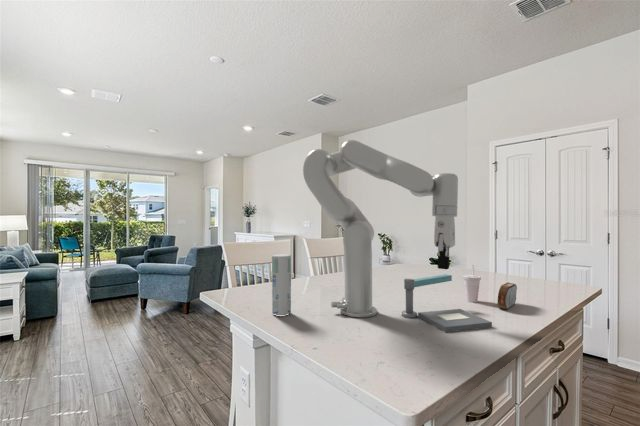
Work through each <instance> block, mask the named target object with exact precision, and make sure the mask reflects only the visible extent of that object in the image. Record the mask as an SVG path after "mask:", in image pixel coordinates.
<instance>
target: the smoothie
mask: <svg viewBox="0 0 640 426" xmlns="http://www.w3.org/2000/svg"><path fill="white" fill-rule="evenodd" d="M471 272H472V273H471V274H463V275H462V279H463V283H464V290H465V297H466V301H467V302H468V303H478V300H479V292H480V290H479V289H480V283H481V280H482V277H481V276H479V275H475V265H474V264H472V271H471Z"/></svg>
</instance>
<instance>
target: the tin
mask: <svg viewBox="0 0 640 426" xmlns="http://www.w3.org/2000/svg"><path fill="white" fill-rule="evenodd" d="M517 290H518V287H517V284H516V283H512V282H506V283H504V284H501V286H500V287H499V290H498V294H497V307H498V309H502V310H509V309H511V308H512V307H513V306H515V304H516V301H517Z"/></svg>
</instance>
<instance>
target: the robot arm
mask: <svg viewBox="0 0 640 426" xmlns="http://www.w3.org/2000/svg"><path fill="white" fill-rule="evenodd" d="M339 149H340V150H339V151H336V152H332V153H330V152H328V151H327V150H325V149H321V148H316V149H313V150H311V151H309V153H308V154H307V155H306V157H305V159H304V162H303V167H302V171H303V174H302V175H303V179H304V181H305V184H306V186H307V188H308V189H309V191H310V192H311V194H312V195H313V196H314V198H315V199H316V201H317V202H318V203H319V205H320V206H321V207H322V209H323V210H324V211H325V213H326V214H327V216H328V218H329V219H330V220H331V221H332V222H334V223H337V224H339V225H340V227H341V228H342V229H343V235H342V243H343V254H344V255H343V256H344V258H343V259H344V267H343V268H344V297H341V300H339V301H331V302H330V305H331V308H337V310H338V309H339V310H340V311H339V312H340V313H341V314H342V315H344V316H346V315H347V317H351V318H369V317H374V316H375V315H376V314H377V313H378V308H376V306H373V252H372V251H373V249H372V241H373V239H374V237H375V230H374V227H373V225H372V224H371V222H370V221H369V220H368V218H367V217H366V216H365V214H363V212H362V211H361V210H360V208H359V207H358V206H357V205H356V203H355V202H354V201H352V200H351V199H350V198H347V197H346V196H345V195H344V194H343V193H342V192H341V190H339V189H340V188H338V186H337V185H336V184H335V182H334V181H333V180H332V179H331V178H330V177H333V176H336V175H339V174H343V173H346V172H348V171H352V170H355V169H358V170H360V171H362V172H364V173H366V174H368V175H369V176H371V177H374V178H376V179H378V180H384V181H388V182H390V183H393V184H396V185H397V186H399V187H402V188H404V189H407V190H408V191H409V192H410V193H411V194H412V195H413V196H416V197H420V198H422V197H428V196H429V197H430V196H432V209H431V214H432V215H431V217H435V218H434V237H433V239H434V242H433V243H434V247H436V248H437V269H439V270H448V269H450V249H451V248H453V247H454V246H456V225H455V224H456V223H455V217H458V198H459V197H458V196H459V195H458V193H459V192H458V191H459V178H458V175H457V174H455V173H446V172H444V173H438V174H434V175H432V174H431V173H430V172H428V171H426V170H424V169H422V168H420V167H418V166H416V165H414V164H411V163H410V162H407V161H404V160H401V159H399V158H396V157H394V156H392V155H389V154H386V153H384V152H383V151H380V150H378V149H376V148H373V147H371V146H369V145H367V144H364V143H362V142H361V141H358V140H355V139H348V140H347V141H344V142H343V144H342V145H341V147H340V148H339Z"/></svg>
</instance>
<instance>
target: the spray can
mask: <svg viewBox="0 0 640 426" xmlns="http://www.w3.org/2000/svg"><path fill="white" fill-rule="evenodd" d="M271 279H272V281H271V284H272V285H271V286H272V289H271V290H272V291H271V292H272V293H271V294H272V296H271V297H272V299H271V300H272V301H271V302H272V303H271V305H272V308H271V309H272V315H273V314H276V315H286V314H289V313H292V312H291V311H292V255H291V254H287V253H281V254H280V253H279V254H278V253H277V254H272V255H271Z"/></svg>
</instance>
